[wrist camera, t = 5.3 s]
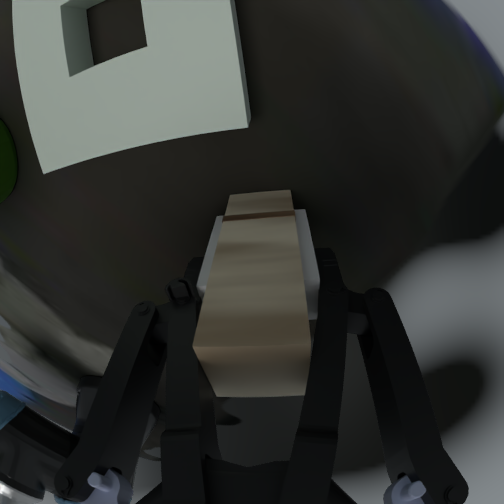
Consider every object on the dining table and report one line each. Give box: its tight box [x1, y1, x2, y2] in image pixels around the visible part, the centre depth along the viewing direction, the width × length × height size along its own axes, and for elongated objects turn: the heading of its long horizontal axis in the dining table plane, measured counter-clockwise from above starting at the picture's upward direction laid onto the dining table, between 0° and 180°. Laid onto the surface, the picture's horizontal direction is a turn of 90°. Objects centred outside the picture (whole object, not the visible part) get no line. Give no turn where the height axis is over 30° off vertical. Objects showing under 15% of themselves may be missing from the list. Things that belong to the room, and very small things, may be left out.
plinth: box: [12, 0, 251, 174], centre depth 11 cm, size 16×14×3 cm
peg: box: [192, 190, 311, 397], centre depth 15 cm, size 4×4×12 cm
